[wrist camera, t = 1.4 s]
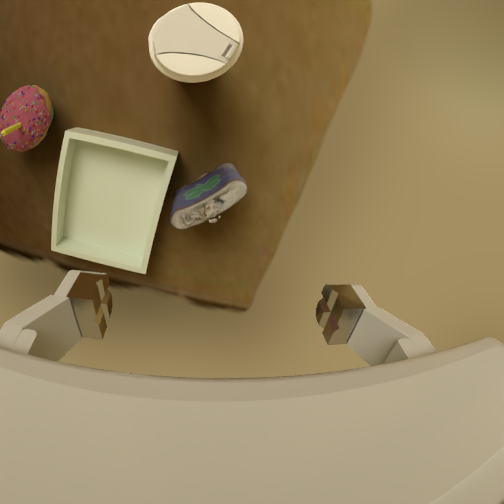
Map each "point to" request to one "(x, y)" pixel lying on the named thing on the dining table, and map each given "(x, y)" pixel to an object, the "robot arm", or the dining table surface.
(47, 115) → the cupcake
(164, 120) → the dining table surface
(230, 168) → the flask
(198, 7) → the paper cup
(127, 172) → the serving bin
